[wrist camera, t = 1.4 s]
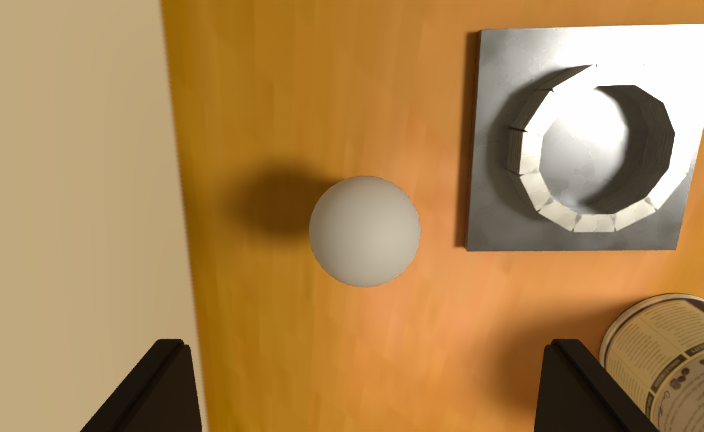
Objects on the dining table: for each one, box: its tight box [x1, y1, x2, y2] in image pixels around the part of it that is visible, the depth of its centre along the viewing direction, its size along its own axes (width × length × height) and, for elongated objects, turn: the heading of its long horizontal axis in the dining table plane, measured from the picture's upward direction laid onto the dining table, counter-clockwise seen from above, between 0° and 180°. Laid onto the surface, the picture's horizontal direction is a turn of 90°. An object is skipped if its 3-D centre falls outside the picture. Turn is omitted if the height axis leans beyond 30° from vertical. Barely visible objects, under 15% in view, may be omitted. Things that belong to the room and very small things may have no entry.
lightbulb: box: [309, 176, 421, 287], centre depth 25 cm, size 6×6×11 cm
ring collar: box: [464, 24, 704, 251], centre depth 27 cm, size 15×15×4 cm
